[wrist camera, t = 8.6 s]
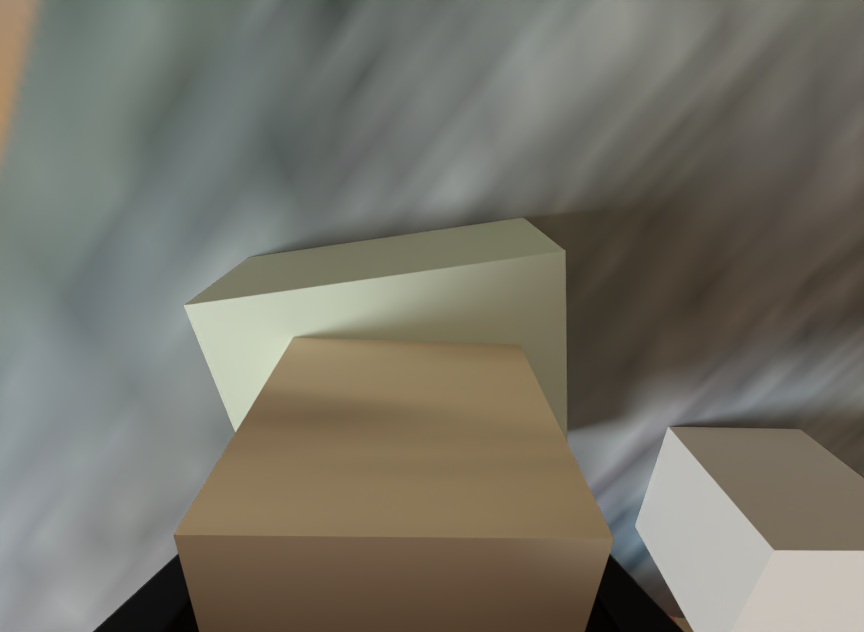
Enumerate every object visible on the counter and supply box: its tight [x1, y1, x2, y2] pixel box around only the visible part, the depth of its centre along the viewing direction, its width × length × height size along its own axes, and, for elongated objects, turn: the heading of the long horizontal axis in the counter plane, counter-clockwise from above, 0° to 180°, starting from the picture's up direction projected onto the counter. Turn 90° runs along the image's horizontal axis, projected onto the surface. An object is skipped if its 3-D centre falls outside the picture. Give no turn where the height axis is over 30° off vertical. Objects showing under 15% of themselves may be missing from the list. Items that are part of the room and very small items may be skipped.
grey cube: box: [635, 427, 864, 632], centre depth 14 cm, size 5×5×5 cm
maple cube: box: [174, 337, 614, 632], centre depth 8 cm, size 5×5×5 cm
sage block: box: [184, 218, 568, 443], centre depth 12 cm, size 8×8×4 cm
